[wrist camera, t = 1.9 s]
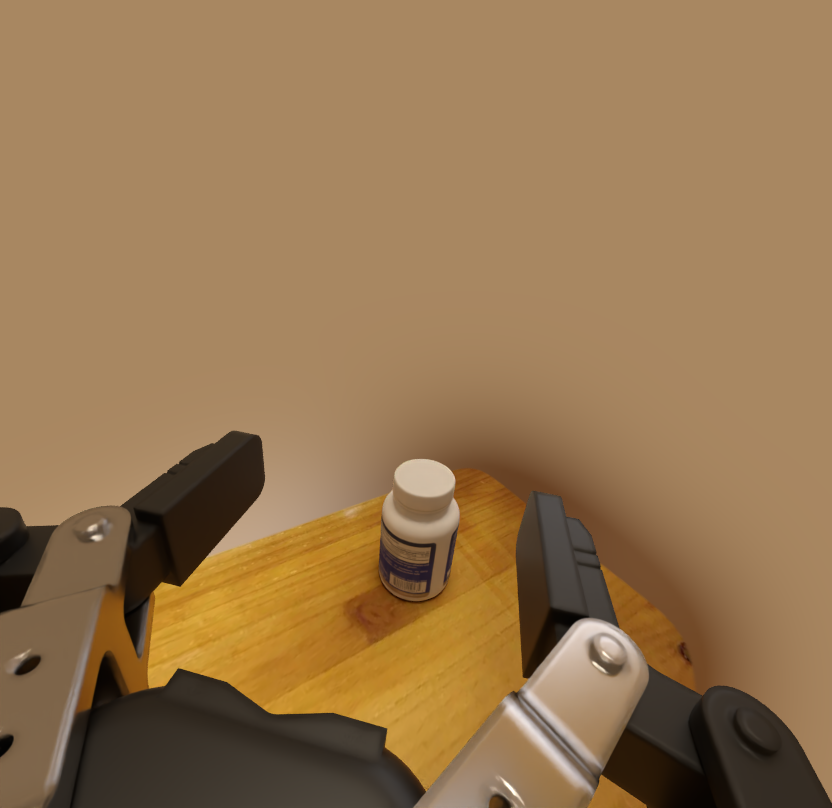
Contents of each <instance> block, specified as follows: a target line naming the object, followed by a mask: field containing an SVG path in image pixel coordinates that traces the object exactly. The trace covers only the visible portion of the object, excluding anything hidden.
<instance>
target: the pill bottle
mask: <svg viewBox="0 0 832 808" xmlns="http://www.w3.org/2000/svg"><path fill="white" fill-rule="evenodd" d="M454 489H455V477H454V475H453V473H452V471H451V470H450V469H449V468H447V467H446V466H445V465H443V464H441V463H439V462H436V461H433V460H428V459H414V460H409V461H406V462H404V463H403V464H401V465H400V466H399V467H398V468H397V469H396V471H395V474H394V481H393V490H392V491H391V492H390V493H389V494H388V495H387V497H386V499H385V501H384V503H383V508H382V519H381V539H380V556H379V574H380V578H381V580H382V582H383V584H384V585H385V587H386V588H387V589H388V590H389V591H390V592H391V593H392V594H394V595H395V596H397V597H399V598H402V599H405V600H409V601H422V600H427V599H430V598H432V597H434V596H436V595H437V594H439V593H440V592H441V591H442V590H443V589H444V587H445V586H446V584H447V582H448V579H449V575H450V570H451V565H452V559H453V553H454V548H455V542H456V537H457V531H458V525H459V517H460V514H459V508H458V505H457V503H456V501H455V499H454V498H453V495H454Z"/></svg>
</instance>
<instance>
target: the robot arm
mask: <svg viewBox="0 0 832 808" xmlns="http://www.w3.org/2000/svg"><path fill="white" fill-rule="evenodd" d="M264 473H265V472H264V461H263V450H262V441H261V438H260V437H259V436H258V435H253V434H249V433H244V432H239V431H231V432H229V433H228V434H227V435H225V436H224V437H223V438H221V439H220V440H219V441H218V442H216V443H215V444H213V443H212V444H209V445H207V446H205V447H202V448H200V449H198V450H195V451H193V452H192V453H190V454H189V455H188V456H187V457H185V458H184V459H183V460H181V461H180V462H179V464H176V465H175V466H173V467H172V468H170V469H169V470H168V472H167V473H164V474H162V475H161V476H160V477H158V478H157V479H156V480H155V481H153V482H152V483H151V484H149V485H148V486H147V487H145V488H144V489H142V490H141V491H140V492H139V493H137V494H136V495H135V496H133V497H132V498H130V499H129V500H128V501H126V502H125V503H124V504H122V505H121V506H120V507H119V506H101V507H96V508H92V509H88V510H85V511H83V512H80V513H78V514H76V515H74V516H72V517H70V518H69V519H67V520H65V521H64V522H63V523H61V524H60V525H56V526H26V525H25V524H24V521H23V519H22V517H21V515H20V513H19V512H18V511H17V510H15V509H12V508H3V507H2V508H1V507H0V808H587V807H588V805H589V803H590V801H591V799H592V797H593V795H594V793H595V791H596V789H597V786H598V784H599V778H600V775H603V776H604V777H606V778H607V779H609V780H610V781H612V782H613V783H615V784H616V785H618V786H619V787H621V788H622V789H624V790H625V791H627V792H628V793H630V794H631V795H633V796H634V797H636V798H637V799H638V800H640V801H641V802H643V803H644V804H646V805H647V808H832V803H831V801H830V799H829V797H828V795H827V793H826V792H825V790H824V788H823V786H822V784H821V782H820V781H819V779H818V777H817V775H816V773H815V771H814V769H813V767H812V765H811V764H810V762H809V760H808V758H807V756H806V754H805V752H804V750H803V749H802V747H801V746H800V744H799V742H798V740H797V739H796V737H795V736H794V735H793V733H792V732H791V731H790V730H789V728H788V727H787V726H786V725H785V724H784V723H783V722H782V720H781V719H780V718H779V717H777V715H776V714H775V713H773V712H772V711H771V710H770V709H769V708H767V707H766V706H765V705H764V704H762V703H761V702H760V701H758V700H757V699H755V698H753V697H752V696H750V695H749V694H747V693H745V692H743V691H740V690H738V689H735V688H732V687H728V686H714V687H711V688H709V689H708V690H707V691H706V692H705V694H704V695H703V696H702V695H700V694H698V693H696V692H695V691H693V690H691V689H689V688H687V687H685V686H683V685H682V684H680V683H678V682H676V681H674V680H672V679H670V678H669V677H667V676H665V675H663V674H661V673H660V672H658V671H656V670H655V669H654V668H652V667H651V666H649V665H648V664H647V663H646V660H645V658H644V656H643V654H642V652H641V651H640V649H639V648H638V646H637V645H636V644H635V643H634V641H633V640H632V639H631V638H630V637H629V636H628V635H627V634H625V633H624V632H623V631H622V630H620V628H619V625H618V622H617V619H616V615H615V612H614V609H613V605H612V602H611V599H610V595H609V592H608V589H607V585H606V582H605V579H604V576H603V572H602V570H600V567H601V566H600V562H599V559H598V556H597V555H596V549H595V546H594V543H593V539H592V536H591V534H590V533H589V532H588V530H587V529H586V528H585V527H584V525H583V524H582V523H581V521H580V520H579V519H575V518H570V517H566V514H565V510H564V506H563V502H562V498H561V497H560V496H557V495H551V494H547V493H542V492H537V491H532V492H531V493H530V496H529V499H528V502H527V505H526V509H525V512H524V516H523V519H522V522H521V526H520V529H519V533H518V537H517V544H516V565H517V583H518V600H519V618H520V635H521V653H522V670H523V677H524V678H528V681H527V682H526V683H525V684H524V686H523V687H522V688H521V689H520V690H519V691H518V692H517V693H515V692H514V691H513V692H511V693H510V694H508V695H507V696H506V697H505V698H504V699H503V700H502V702H501V703H500V704H499V705H498V706H497V708H496V709H495V710H494V711H493V712H492V714H491V715H490V716H489V717H488V718H487V720H486V721H485V722H484V723H483V724H482V726H481V727H480V728H479V729H478V730H477V732H476V733H475V734H474V735H473V736H472V738H471V739H470V740H469V741H468V742H467V744H466V745H465V746H464V747H463V748H462V750H461V751H460V752H459V753H458V754H457V756H456V757H455V758H454V759H453V760H452V762H451V763H450V764H449V765H448V766H447V768H446V769H445V770H444V771H443V772H442V774H441V775H440V776H439V777H438V778H437V780H436V781H435V782H434V783H433V784H432V786H431V787H430V788H429V789H428V790H427V792H426V791H425V789H424V788H423V786H422V785H421V783H420V781H419V780H418V779H417V777H416V776H415V775H414V774H413V772H412V771H411V770H410V769H409V768H408V766H406V765H405V764H404V763H403V762H402V761H401V760H400V759H399V758H398V757H397V756H396V755H394V754H393V753H392V752H390V751H389V750H388V749H386V748H385V742H386V734H387V728H383V727H380V726H376V725H373V724H370V723H366V722H363V721H359V720H356V719H352V718H349V717H345V716H342V715H338V714H335V713H314V714H279V715H277V714H271V713H268V712H267V711H265V710H264V709H262V708H261V707H260V706H258V705H257V704H256V703H254V702H253V701H252V700H250V699H249V698H248V697H246V696H245V695H243V694H242V693H241V692H239V691H238V690H237V689H235V688H234V687H233V686H231V685H230V684H229V683H227V682H224V681H221V680H217V679H214V678H210V677H207V676H203V675H200V674H197V673H193V672H190V671H186V670H183V669H179V668H178V669H177V671H176V672H175V673H174V675H173V676H172V678H171V679H170V680H169V682H168V683H167V685H166V686H162V687H156V688H150V689H149V686H148V674H147V670H148V658H149V649H150V640H151V631H152V622H153V613H154V604H155V595H154V592H153V591H154V590H155V589H156V588H157V587H158V585H159V584H160V583H161V582H164V583H168V584H172V585H176V586H180V587H181V585H182V584H183V583H184V582H185V581H186V580H187V578H188V577H189V576H190V575H191V574H192V573H193V572H194V570H195V569H196V568H197V567H198V566H199V565H200V564H201V562H202V561H203V560H204V559H205V558H206V557H207V556H208V554H209V553H210V552H211V551H212V550H213V549H214V548H215V546H216V545H217V544H218V543H219V542H220V541H221V540H222V538H223V537H224V536H225V535H226V534H227V533H228V531H229V530H230V529H231V528H232V527H233V526H234V524H235V523H236V522H237V521H238V520H239V519H240V518H241V517H242V515H243V514H244V513H245V512H246V511H247V510H248V508H249V507H250V506H251V505H252V504H253V503H254V501H256V499H257V498H258V497H259V495H260V494H261V491H262V489H263V486H264V482H265V474H264Z"/></svg>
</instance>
